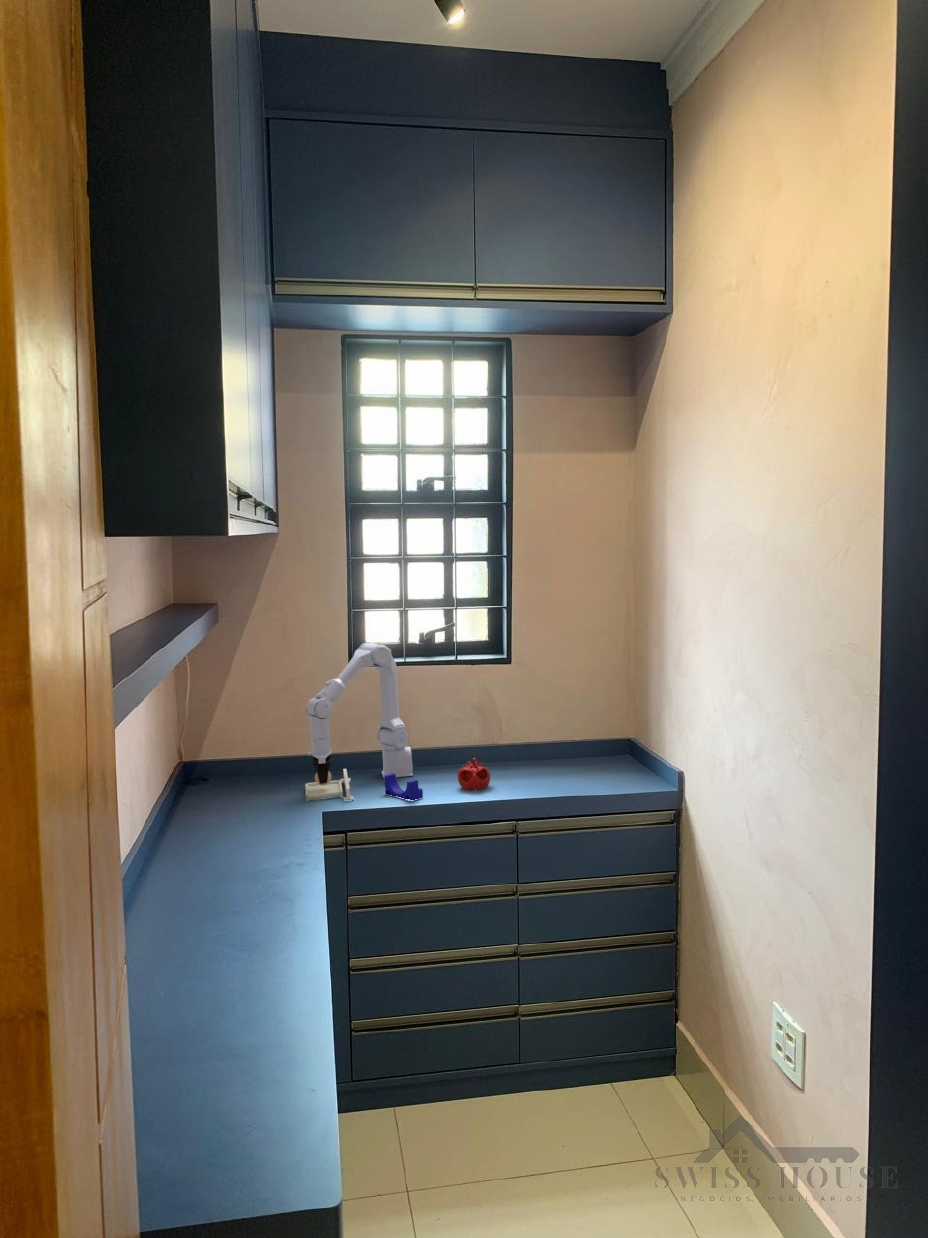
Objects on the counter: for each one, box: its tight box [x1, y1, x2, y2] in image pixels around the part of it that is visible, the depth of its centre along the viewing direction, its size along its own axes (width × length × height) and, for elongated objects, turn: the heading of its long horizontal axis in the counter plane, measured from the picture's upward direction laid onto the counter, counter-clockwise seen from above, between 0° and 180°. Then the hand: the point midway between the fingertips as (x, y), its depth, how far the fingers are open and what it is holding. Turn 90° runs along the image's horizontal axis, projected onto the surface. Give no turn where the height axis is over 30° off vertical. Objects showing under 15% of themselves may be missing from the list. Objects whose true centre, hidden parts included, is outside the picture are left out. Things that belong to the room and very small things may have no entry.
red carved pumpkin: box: [456, 757, 491, 792], centre depth 266 cm, size 10×10×9 cm
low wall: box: [340, 768, 355, 801], centre depth 269 cm, size 3×22×4 cm, turn 10°
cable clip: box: [384, 773, 424, 800], centre depth 261 cm, size 12×4×6 cm, turn 44°
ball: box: [314, 771, 332, 786], centre depth 268 cm, size 5×5×5 cm
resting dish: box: [305, 779, 344, 802], centre depth 268 cm, size 11×13×2 cm
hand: (323, 780), depth 268 cm, fingers closed on ball, 5 cm apart
